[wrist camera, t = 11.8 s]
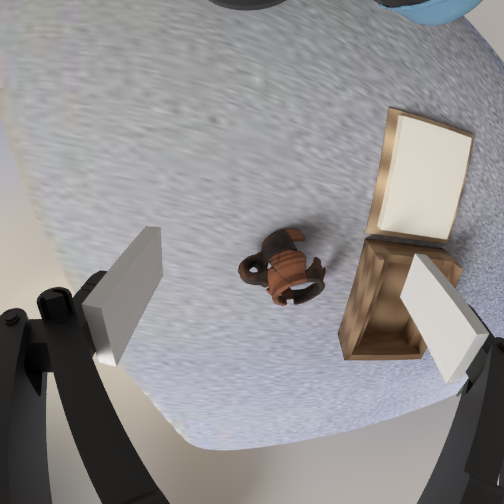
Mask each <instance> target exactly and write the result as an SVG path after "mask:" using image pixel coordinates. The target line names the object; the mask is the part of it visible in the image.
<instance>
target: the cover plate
mask: <svg viewBox="0 0 504 504" xmlns="http://www.w3.org/2000/svg"><path fill="white" fill-rule="evenodd" d="M471 140H472V138H470V137H467V136H465V135H462V134H459V133H456V132H453V131H451V130H448V129H445V128H442V127H439V126H436V125H433V124H429V123H426V122H423V121H420V120H416V119H413V118H409V117H406V116H401V115H399V116H398V123H397V129H396V136H395V142H394V148H393V153H392V159H391V164H390V170H389V175H388V180H387V185H386V189H385V194H384V199H383V203H382V208H381V212H380V216H379V220H378V224H377V226H378V227H379V228H380V230H386V231H393V232H400V233H407V234H414V235H420V236H427V237H434V238H440V239H446V240H447V238H448V235H449V232H450V229H451V225H452V222H453V219H454V215H455V212H456V208H457V204H458V201H459V197H460V193H461V189H462V185H463V180H464V176H465V171H466V167H467V162H468V157H469V152H470V146H471Z"/></svg>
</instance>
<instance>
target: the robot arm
mask: <svg viewBox="0 0 504 504" xmlns="http://www.w3.org/2000/svg"><path fill="white" fill-rule="evenodd" d="M209 1H210V2H212V3H214V4H217V5H219V6H222V7H225V8H229V9H235V10H259V9H264V8H268V7H272V6H275V5H277V4H280V3H282V2H284V1H286V0H209ZM373 1H375V2H377V3H378V5H380V6H381V7H383V8H385V9H388V10H392V11H395V12H397V13H399V14H400V15H402V16H404V17H406V18H408V19H409V20H411V21H413V22H415V23H418V24H421V25H431V26H436V25H442V24H446V23H449V22H452V21H454V20H456V19H458V18H460V17H462V16H464V15H465V14H467V13H468V12H470V11H471V10H472V9H474V8H475V7H476V6H477V5H478V4H479V3H480V2H481V1H482V0H373ZM162 277H163V267H162V248H161V227H151V226H146V227H145V228H144V229H143V230H142V232H141V233H140V234H139V235H138V236H137V237H136V238H135V240H134V241H133V242H132V243H131V244H130V245H129V247H128V248H127V249H126V250H125V251H124V252H123V254H122V255H121V256H120V257H119V258H118V260H117V261H116V262H115V263H114V264H113V266H112V267H111V268H110V269H109V270H108V271H101V270H100V271H98V272H97V273H95V274H93V275H92V276H91V277H90V278H89V279H88V280H87V281H86V282H85V284H84V285H83V286H82V287H81V289H80V290H79V291H78V292H77V293H76V294H75V296H74V297H73V298H72V294H71V292H70V291H69V290H68V289H66V288H62V287H55V288H51V289H48V290H46V291H44V292H43V293H41V294H40V296H39V297H38V298H37V305H38V309H39V311H40V314H41V317H42V319H28V317H27V314H26V312H25V311H24V310H22V309H20V308H13V309H9V310H7V311H5V312H4V313H3V314H2V315H0V504H52V498H51V491H50V482H49V473H48V462H47V446H46V445H47V444H46V389H47V372H53V373H54V377H55V380H56V384H57V388H58V391H59V395H60V399H61V402H62V405H63V408H64V412H65V415H66V418H67V421H68V424H69V427H70V430H71V432H72V435H73V438H74V441H75V443H76V446H77V449H78V451H79V454H80V456H81V459H82V461H83V463H84V466H85V468H86V470H87V473H88V475H89V477H90V479H91V481H92V484H93V486H94V488H95V490H96V492H97V494H98V496H99V498H100V500H101V502H102V504H170V503H169V502H168V500H167V499H166V497H165V496H164V494H163V493H162V492H161V490H160V489H159V488H158V486H157V485H156V483H155V482H154V480H153V479H152V477H151V476H150V474H149V472H148V471H147V469H146V467H145V466H144V464H143V462H142V461H141V459H140V457H139V456H138V454H137V452H136V450H135V448H134V447H133V445H132V443H131V441H130V440H129V437H128V436H127V434H126V432H125V430H124V428H123V426H122V424H121V422H120V420H119V418H118V416H117V414H116V412H115V410H114V408H113V406H112V403H111V401H110V399H109V397H108V395H107V392H106V390H105V388H104V386H103V383H102V381H101V379H100V376H99V374H98V371H97V369H96V366H95V364H94V361H93V359H92V357H93V355H94V353H95V352H96V355H97V358H98V361H99V362H100V363H104V364H108V365H112V366H117V365H118V362H119V360H120V358H121V356H122V354H123V352H124V350H125V348H126V346H127V344H128V342H129V340H130V338H131V336H132V334H133V332H134V330H135V328H136V326H137V324H138V322H139V320H140V318H141V316H142V314H143V312H144V310H145V308H146V307H147V305H148V303H149V301H150V299H151V297H152V295H153V293H154V291H155V289H156V288H157V286H158V284H159V282H160V280H161V278H162ZM400 298H401V299H402V301H403V303H404V305H405V306H406V308H407V310H408V312H409V313H410V315H411V317H412V319H413V321H414V322H415V324H416V326H417V328H418V330H419V332H420V333H421V335H422V337H423V339H424V341H425V343H426V345H427V347H428V349H429V351H430V353H431V354H432V356H433V358H434V360H435V362H436V364H437V366H438V368H439V370H440V373H441V375H442V377H443V379H444V381H445V383H446V384H451V383H458V382H459V381H460V380H461V378H462V377H463V375H464V374H465V373H467V375H468V377H469V378H468V380H467V381H466V383H465V384H464V385H463V387H462V388H461V390H460V391H459V392H458V394H457V397H458V396H459V395H460V394H462V395H461V399H460V402H459V405H458V408H457V411H456V414H455V417H454V420H453V423H452V426H451V429H450V431H449V434H448V437H447V439H446V442H445V444H444V447H443V449H442V452H441V454H440V457H439V459H438V461H437V464H436V466H435V468H434V470H433V473H432V475H431V477H430V479H429V481H428V483H427V485H426V487H425V489H424V491H423V493H422V495H421V497H420V499H419V500H418V502H417V504H504V338H501V337H496V338H495V337H494V336H493V334H492V333H491V332H490V330H489V329H488V327H487V326H486V325H485V323H484V322H483V321H482V319H481V318H480V317H479V316H478V314H477V313H476V311H475V310H474V309H473V308H472V307H471V306H470V305H469V304H467V303H466V302H465V300H464V299H463V298H462V297H461V295H460V294H459V293H458V292H457V290H456V289H455V288H454V287H453V285H452V284H451V283H450V282H449V281H448V279H447V278H446V277H445V276H444V275H443V273H442V272H441V271H440V270H439V269H438V268H437V266H436V265H435V264H434V263H433V262H432V261H431V260H430V258H429V257H428V256H427V255H423V254H415V255H414V258H413V261H412V264H411V267H410V270H409V273H408V276H407V279H406V282H405V284H404V287H403V290H402V293H401V295H400ZM499 473H500V476H499ZM498 477H499V486H498V485H497V481H498Z"/></svg>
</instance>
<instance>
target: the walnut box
mask: <svg viewBox="0 0 504 504" xmlns="http://www.w3.org/2000/svg"><path fill="white" fill-rule="evenodd" d="M415 254H423V255H427V256H428V257H429V258H430V260H431V261H432V262H433V263H434V264H435V265H436V266H437V268H438V269H439V270H440V271H441V272H442V273H443V275H444V276H445V277H446V278H447V279H448V281H449V282H450V283H451V284H452V285H453V287H454V288H456V285H457V283H458V281H459V278H460V276H461V273H462V270H463V268H462V267H461V266H460V265H459V264H458V263H457V262H456V261H455V260H454V259H453V257H452V256H451V255H450V254H449V253H448V252H447V251H446V250H445V249H441V248H434V247H426V246H419V245H411V244H404V243H396V242H388V241H380V240H372V239H365V242H364V246H363V249H362V253H361V257H360V261H359V265H358V268H357V272H356V276H355V279H354V283H353V286H352V290H351V293H350V296H349V300H348V303H347V306H346V309H345V313H344V316H343V319H342V322H341V325H340V328H339V331H338V337H339V340H340V344H341V348H342V352H343V356H344V360H409V359H421V358H422V356H423V354H424V352H425V350H426V349H427V345H426V343H425V341H424V339H423V337H422V335H421V333H420V332H419V330H418V328H417V326H416V324H415V322H414V321H413V319H412V317H411V315H410V313H409V312H408V310H407V308H406V306H405V305H404V303H403V301H402V299H401V298H400V295H401V293H402V290H403V287H404V284H405V282H406V279H407V276H408V273H409V270H410V267H411V264H412V261H413V258H414V255H415Z"/></svg>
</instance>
